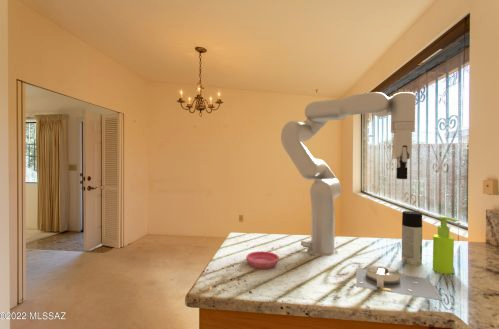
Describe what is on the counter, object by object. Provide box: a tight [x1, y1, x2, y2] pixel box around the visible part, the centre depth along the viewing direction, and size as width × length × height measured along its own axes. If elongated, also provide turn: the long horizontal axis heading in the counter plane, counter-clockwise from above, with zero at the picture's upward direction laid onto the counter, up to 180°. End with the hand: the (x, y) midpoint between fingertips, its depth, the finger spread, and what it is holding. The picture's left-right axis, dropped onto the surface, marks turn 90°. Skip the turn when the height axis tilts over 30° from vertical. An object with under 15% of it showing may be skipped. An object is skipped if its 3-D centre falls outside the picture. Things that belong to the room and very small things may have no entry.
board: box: [355, 268, 443, 301], centre depth 86 cm, size 22×17×1 cm
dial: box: [365, 265, 401, 288], centre depth 87 cm, size 14×10×4 cm
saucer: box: [245, 250, 280, 270], centre depth 103 cm, size 12×12×3 cm
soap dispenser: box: [432, 216, 459, 275], centre depth 95 cm, size 6×7×20 cm
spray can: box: [401, 210, 423, 266], centre depth 104 cm, size 7×7×20 cm
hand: (401, 178), depth 98 cm, fingers closed
